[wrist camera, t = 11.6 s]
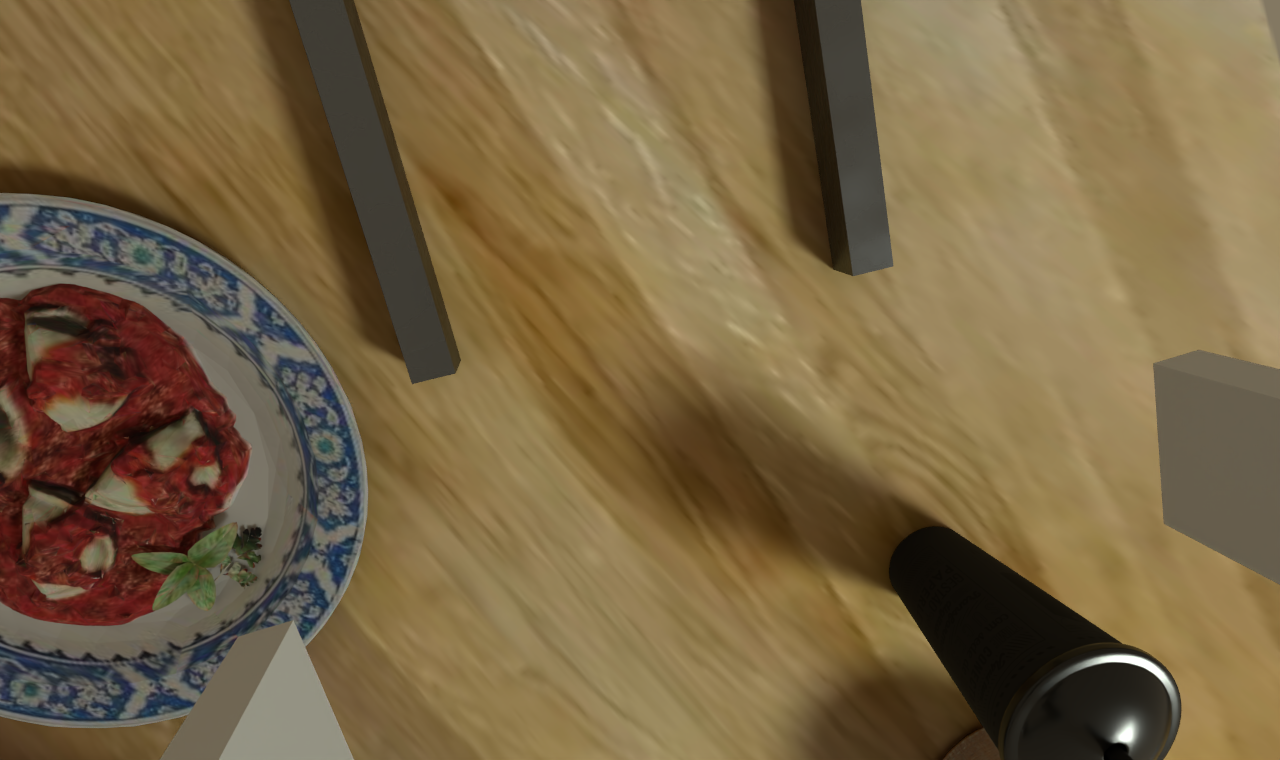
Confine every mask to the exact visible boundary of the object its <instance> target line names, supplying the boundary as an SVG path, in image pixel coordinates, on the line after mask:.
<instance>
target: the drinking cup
mask: <svg viewBox="0 0 1280 760" xmlns="http://www.w3.org/2000/svg"><path fill="white" fill-rule="evenodd" d="M889 575H890V580H891V583H892V586H893V587H894V589H895V591H896V592H897V594H898V595H899V597H900V598H901V600H902V602H903V603H904V605H905V606H906V608H907V609H908V611H909V612H910V614H911V616H912V617H913V619H914V620H915V622H916V623H917V625H918V626H919V628H920V630H921V631H922V633H923V634H924V636H925V637H926V639H927V640H928V642H929V644H930V645H931V647H932V648H933V650H934V651H935V653H936V654H937V656H938V657H939V659H940V661H941V662H942V664H943V665H944V667H945V668H946V670H947V671H948V673H949V675H950V676H951V678H952V679H953V681H954V682H955V684H956V685H957V687H958V689H959V690H960V692H961V693H962V695H963V696H964V698H965V699H966V701H967V703H968V704H969V706H970V707H971V709H972V710H973V712H974V713H975V715H976V717H977V718H978V720H979V721H980V723H981V724H982V726H983V727H984V729H985V731H986V732H987V734H988V735H989V737H990V738H991V740H992V741H993V743H994V744H995V746H996V748H997V749H998V751H999V756H1000V760H1163V759H1164V758H1165V756H1166V755H1167V753H1168V752H1169V750H1170V748H1171V746H1172V744H1173V742H1174V740H1175V738H1176V735H1177V732H1178V728H1179V725H1180V719H1181V698H1180V693H1179V690H1178V687H1177V684H1176V682H1175V680H1174V678H1173V677H1172V675H1171V673H1170V672H1169V671H1168V670H1167V668H1166V667H1165V666H1164V665H1163V664H1162V663H1161V662H1159V661H1158V660H1157V659H1156V658H1154V657H1153V656H1152V655H1150V654H1149V653H1147V652H1145V651H1143V650H1141V649H1139V648H1136V647H1133V646H1130V645H1126V644H1122V643H1121V642H1119V641H1118V640H1116V639H1115V638H1113V637H1112V636H1110V635H1109V634H1107V633H1106V632H1104V631H1103V630H1101V629H1100V628H1098V627H1097V626H1095V625H1094V624H1092V623H1091V622H1089V621H1088V620H1087V619H1085V618H1084V617H1082V616H1081V615H1079V614H1078V613H1076V612H1075V611H1073V610H1072V609H1070V608H1069V607H1067V606H1066V605H1064V604H1063V603H1061V602H1060V601H1058V600H1057V599H1055V598H1054V597H1052V596H1051V595H1049V594H1048V593H1046V592H1045V591H1043V590H1042V589H1040V588H1039V587H1037V586H1036V585H1034V584H1033V583H1031V582H1030V581H1028V580H1027V579H1025V578H1024V577H1022V576H1021V575H1019V574H1018V573H1016V572H1015V571H1013V570H1012V569H1010V568H1009V567H1007V566H1006V565H1004V564H1003V563H1001V562H1000V561H998V560H997V559H995V558H994V557H992V556H991V555H989V554H988V553H986V552H985V551H983V550H982V549H980V548H979V547H977V546H976V545H974V544H973V543H971V542H970V541H968V540H967V539H965V538H964V537H962V536H961V535H959V534H958V533H956V532H955V531H953V530H951V529H948V528H944V527H928V528H924V529H921V530H918V531H916V532H914V533H912V534H911V535H909V536H908V537H907V538H905V539H904V540H903V541H902V542H901V543H900V544H899V546H898V547H897V549H896V550H895V552H894V554H893V556H892V559H891V562H890V568H889Z"/></svg>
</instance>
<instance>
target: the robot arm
mask: <svg viewBox="0 0 1280 760" xmlns="http://www.w3.org/2000/svg"><path fill="white" fill-rule="evenodd" d="M1153 367H1154V382H1155V397H1156V412H1157V427H1158V443H1159V458H1160V473H1161V488H1162V503H1163V519H1164V524H1166V525H1168V526H1169V527H1171V528H1173V529H1175V530H1177V531H1179V532H1181V533H1183V534H1185V535H1186V536H1188V537H1190V538H1192V539H1194V540H1196V541H1198V542H1200V543H1202V544H1204V545H1205V546H1207V547H1209V548H1211V549H1213V550H1215V551H1217V552H1219V553H1221V554H1223V555H1224V556H1226V557H1228V558H1230V559H1232V560H1234V561H1236V562H1238V563H1240V564H1242V565H1243V566H1245V567H1247V568H1249V569H1251V570H1253V571H1255V572H1257V573H1259V574H1261V575H1262V576H1264V577H1266V578H1268V579H1270V580H1272V581H1274V582H1276V583H1278V584H1280V369H1276V368H1272V367H1268V366H1264V365H1260V364H1255V363H1251V362H1247V361H1243V360H1239V359H1235V358H1231V357H1226V356H1222V355H1218V354H1214V353H1210V352H1206V351H1202V350H1197V351H1193V352H1190V353H1187V354H1183V355H1180V356H1177V357H1173V358H1170V359H1167V360H1163V361H1160V362H1157V363H1153ZM160 760H354V759H353V757H352V754H351V752H350V750H349V747H348V745H347V743H346V740H345V738H344V736H343V734H342V731H341V729H340V727H339V724H338V722H337V720H336V717H335V715H334V713H333V710H332V708H331V706H330V704H329V701H328V699H327V697H326V694H325V692H324V690H323V687H322V685H321V683H320V680H319V678H318V676H317V673H316V671H315V669H314V667H313V664H312V662H311V660H310V657H309V655H308V653H307V650H306V648H305V646H304V643H303V641H302V639H301V637H300V634H299V632H298V630H297V627H296V625H295V623H294V620H292V621H289V622H285V623H282V624H279V625H275V626H272V627H269V628H265V629H262V630H259V631H255V632H252V633H249V634H245V635H242V636H239V637H238V638H237V639H236V641H235V642H234V644H233V646H232V647H231V649H230V650H229V652H228V653H227V655H226V657H225V658H224V660H223V661H222V663H221V664H220V666H219V668H218V669H217V671H216V672H215V674H214V675H213V677H212V679H211V680H210V682H209V683H208V685H207V686H206V688H205V690H204V691H203V693H202V694H201V696H200V697H199V699H198V700H197V702H196V704H195V705H194V707H193V708H192V710H191V711H190V713H189V715H188V716H187V718H186V719H185V721H184V722H183V724H182V726H181V727H180V729H179V730H178V732H177V733H176V735H175V737H174V738H173V740H172V741H171V743H170V744H169V746H168V748H167V749H166V751H165V752H164V754H163V755H162V757H161V759H160Z"/></svg>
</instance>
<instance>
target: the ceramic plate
mask: <svg viewBox="0 0 1280 760" xmlns="http://www.w3.org/2000/svg"><path fill="white" fill-rule="evenodd" d="M367 506H368V482H367V467H366V461H365V455H364V450H363V444H362V440H361V437H360V433H359V430H358V427H357V424H356V420H355V417H354V414H353V411H352V407H351V404H350V402H349V400H348V398H347V396H346V394H345V392H344V390H343V388H342V386H341V384H340V382H339V380H338V378H337V376H336V374H335V372H334V370H333V368H332V366H331V365H330V363H329V362H328V360H327V359H326V357H325V356H324V354H323V353H322V351H321V350H320V348H319V347H318V345H317V344H316V342H315V341H314V340H313V338H312V337H311V336H310V335H309V333H308V332H307V331H306V330H305V328H304V327H303V326H302V325H301V323H300V322H299V321H298V320H297V319H296V318H295V317H294V316H293V315H292V313H291V312H290V311H289V310H288V309H287V308H286V307H285V306H284V305H283V304H282V303H281V302H280V301H279V300H278V299H277V298H276V297H275V296H274V295H273V294H271V293H270V292H269V291H268V290H267V289H266V288H265V287H263V286H262V285H261V284H260V283H259V282H258V281H257V280H255V279H254V278H253V277H252V276H250V275H249V274H248V273H246V272H245V271H244V270H242V269H241V268H239V267H238V266H237V265H235V264H234V263H233V262H231V261H230V260H228V259H227V258H225V257H224V256H222V255H220V254H219V253H217V252H215V251H214V250H212V249H210V248H209V247H207V246H206V245H204V244H202V243H201V242H199V241H197V240H195V239H193V238H191V237H189V236H187V235H185V234H183V233H181V232H179V231H177V230H175V229H172V228H170V227H168V226H166V225H163V224H160V223H158V222H155V221H153V220H150V219H148V218H145V217H143V216H140V215H137V214H134V213H131V212H127V211H124V210H120V209H117V208H114V207H110V206H107V205H103V204H98V203H93V202H88V201H83V200H78V199H74V198H68V197H58V196H49V195H39V194H17V193H0V716H1V717H5V718H9V719H13V720H18V721H24V722H29V723H35V724H40V725H46V726H55V727H74V728H109V727H128V726H138V725H144V724H150V723H155V722H160V721H164V720H169V719H173V718H178V717H182V716H185V715H188V714H189V713H190V711H191V710H192V708H193V707H194V705H195V704H196V702H197V700H198V699H199V697H200V696H201V694H202V693H203V691H204V690H205V688H206V686H207V685H208V683H209V682H210V680H211V679H212V677H213V675H214V674H215V672H216V671H217V669H218V668H219V666H220V664H221V663H222V661H223V660H224V658H225V657H226V655H227V653H228V652H229V650H230V649H231V647H232V646H233V644H234V642H235V641H236V639H237V638H238V637H239V636H242V635H245V634H249V633H252V632H255V631H259V630H262V629H265V628H269V627H272V626H275V625H279V624H282V623H285V622H289V621H292V620H294V623H295V625H296V627H297V630H298V632H299V634H300V637H301V639H302V641H303V643H304V646H305V647H306V646H307V645H308V644H309V643H310V641H311V640H312V639H313V638H314V637H315V636H316V634H317V633H318V632H319V631H320V630H321V628H322V627H323V626H324V625H325V623H326V622H327V620H328V619H329V617H330V616H331V614H332V613H333V611H334V609H335V608H336V606H337V605H338V603H339V602H340V600H341V598H342V596H343V594H344V592H345V591H346V589H347V587H348V585H349V583H350V580H351V577H352V575H353V572H354V570H355V567H356V565H357V562H358V559H359V555H360V552H361V547H362V542H363V537H364V531H365V525H366V519H367Z"/></svg>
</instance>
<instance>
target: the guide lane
mask: <svg viewBox="0 0 1280 760" xmlns="http://www.w3.org/2000/svg"><path fill="white" fill-rule="evenodd" d="M289 1H290V4H291V7H292V10H293V14H294V17H295V20H296V23H297V26H298V29H299V32H300V35H301V39H302V42H303V45H304V48H305V51H306V54H307V57H308V60H309V64H310V67H311V70H312V73H313V76H314V79H315V82H316V85H317V89H318V92H319V95H320V98H321V101H322V104H323V107H324V110H325V113H326V117H327V120H328V123H329V126H330V129H331V132H332V135H333V138H334V142H335V145H336V148H337V151H338V154H339V157H340V160H341V163H342V167H343V170H344V173H345V176H346V179H347V182H348V185H349V188H350V192H351V195H352V198H353V201H354V204H355V207H356V210H357V213H358V217H359V220H360V223H361V226H362V229H363V232H364V235H365V238H366V241H367V245H368V248H369V251H370V254H371V257H372V260H373V263H374V266H375V270H376V273H377V276H378V279H379V282H380V285H381V288H382V291H383V295H384V298H385V301H386V304H387V307H388V310H389V313H390V316H391V320H392V323H393V326H394V329H395V332H396V335H397V338H398V341H399V345H400V348H401V351H402V354H403V357H404V360H405V363H406V366H407V369H408V373H409V376H410V379H411V382H412V384H414V383H418V382H422V381H426V380H430V379H434V378H438V377H443V376H447V375H451V374H455V373H456V371H457V369H458V366H459V364H460V361H461V359H460V356H459V352H458V349H457V346H456V342H455V339H454V336H453V332H452V329H451V325H450V322H449V319H448V315H447V312H446V309H445V305H444V302H443V299H442V295H441V292H440V289H439V285H438V282H437V279H436V275H435V272H434V268H433V265H432V262H431V258H430V255H429V252H428V248H427V245H426V242H425V238H424V235H423V232H422V228H421V225H420V221H419V218H418V215H417V211H416V208H415V205H414V201H413V198H412V195H411V191H410V188H409V185H408V181H407V178H406V175H405V171H404V168H403V164H402V161H401V158H400V154H399V151H398V148H397V144H396V141H395V138H394V134H393V131H392V128H391V124H390V121H389V117H388V114H387V111H386V107H385V104H384V101H383V97H382V94H381V91H380V87H379V84H378V81H377V77H376V74H375V71H374V67H373V64H372V60H371V57H370V54H369V50H368V47H367V44H366V40H365V37H364V34H363V30H362V27H361V24H360V20H359V17H358V13H357V10H356V7H355V3H354V0H289ZM794 3H795V10H796V16H797V23H798V30H799V37H800V44H801V51H802V58H803V64H804V71H805V78H806V85H807V92H808V99H809V105H810V112H811V119H812V126H813V133H814V140H815V147H816V153H817V160H818V167H819V174H820V181H821V188H822V194H823V201H824V208H825V215H826V222H827V229H828V236H829V242H830V249H831V256H832V263H833V270H836V271H839V272H842V273H845V274H848V275H851V276H855V275H860V274H864V273H868V272H872V271H876V270H880V269H884V268H888V267H892V266H893V259H892V251H891V243H890V235H889V226H888V218H887V210H886V202H885V194H884V186H883V178H882V170H881V161H880V153H879V145H878V137H877V129H876V121H875V113H874V105H873V96H872V88H871V80H870V72H869V64H868V56H867V48H866V40H865V31H864V23H863V15H862V7H861V0H794Z"/></svg>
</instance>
